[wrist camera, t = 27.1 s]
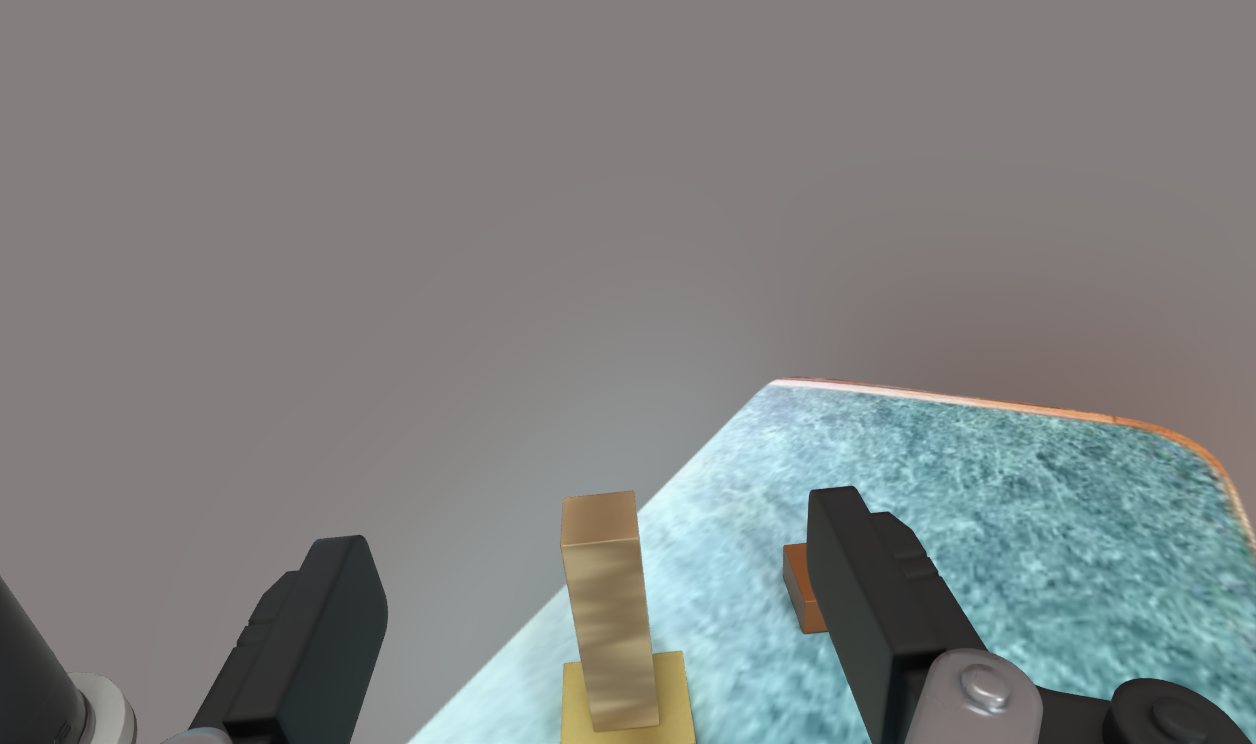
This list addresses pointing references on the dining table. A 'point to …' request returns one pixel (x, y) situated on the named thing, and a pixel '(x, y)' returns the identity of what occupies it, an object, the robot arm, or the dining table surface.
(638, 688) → the pillar on square base
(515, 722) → the dining table surface
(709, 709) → the dining table surface
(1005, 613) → the dining table surface
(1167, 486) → the dining table surface
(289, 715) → the robot arm
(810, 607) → the brown square block
